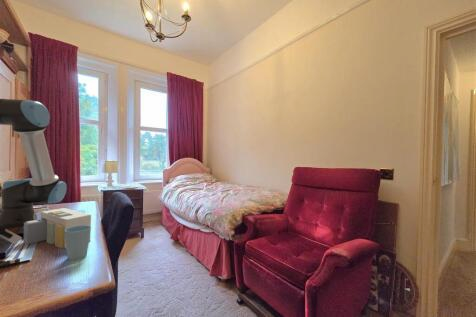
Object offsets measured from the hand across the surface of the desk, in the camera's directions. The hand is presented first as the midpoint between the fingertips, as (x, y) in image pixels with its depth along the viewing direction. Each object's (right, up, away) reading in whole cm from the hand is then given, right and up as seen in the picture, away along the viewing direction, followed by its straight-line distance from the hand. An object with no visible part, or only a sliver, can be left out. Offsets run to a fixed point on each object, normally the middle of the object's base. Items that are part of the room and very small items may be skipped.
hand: (18, 240), depth 82 cm
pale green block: (+6, -4, +12) cm, 14 cm away
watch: (-11, -4, +23) cm, 26 cm away
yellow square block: (+13, -4, +8) cm, 16 cm away
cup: (+24, -5, -3) cm, 25 cm away
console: (+7, -5, +13) cm, 15 cm away
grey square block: (-3, -4, +11) cm, 12 cm away
